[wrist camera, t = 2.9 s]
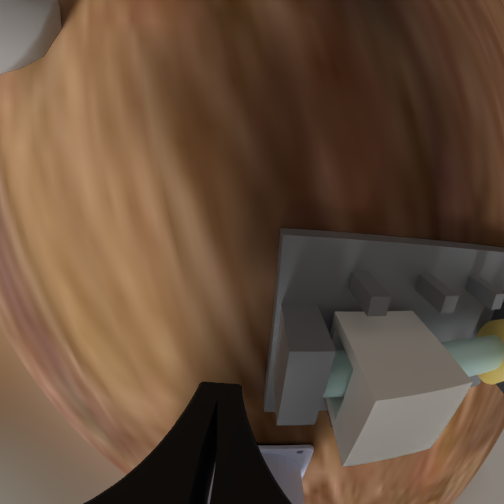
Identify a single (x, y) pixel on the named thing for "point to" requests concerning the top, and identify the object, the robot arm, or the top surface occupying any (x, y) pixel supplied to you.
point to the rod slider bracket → (373, 307)
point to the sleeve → (392, 386)
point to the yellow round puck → (500, 329)
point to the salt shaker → (26, 31)
